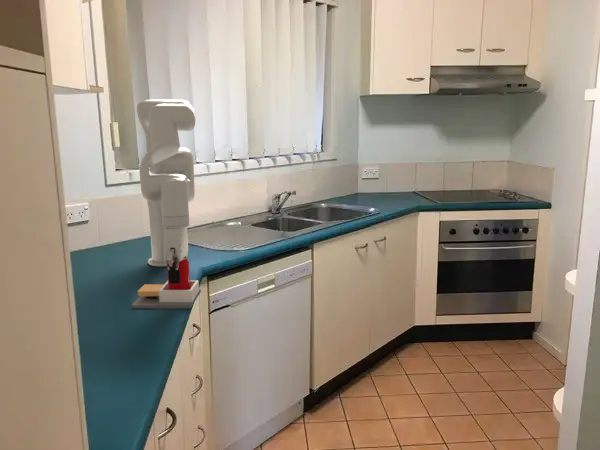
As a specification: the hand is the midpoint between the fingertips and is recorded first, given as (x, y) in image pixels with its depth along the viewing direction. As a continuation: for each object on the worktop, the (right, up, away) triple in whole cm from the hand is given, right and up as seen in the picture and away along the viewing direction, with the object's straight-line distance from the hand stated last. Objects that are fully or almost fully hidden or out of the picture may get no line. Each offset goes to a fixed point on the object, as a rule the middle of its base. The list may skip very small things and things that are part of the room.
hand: (178, 277), depth 149 cm
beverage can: (0, -6, +1) cm, 6 cm away
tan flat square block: (-8, -5, +1) cm, 10 cm away
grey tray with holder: (-4, -7, +1) cm, 8 cm away
